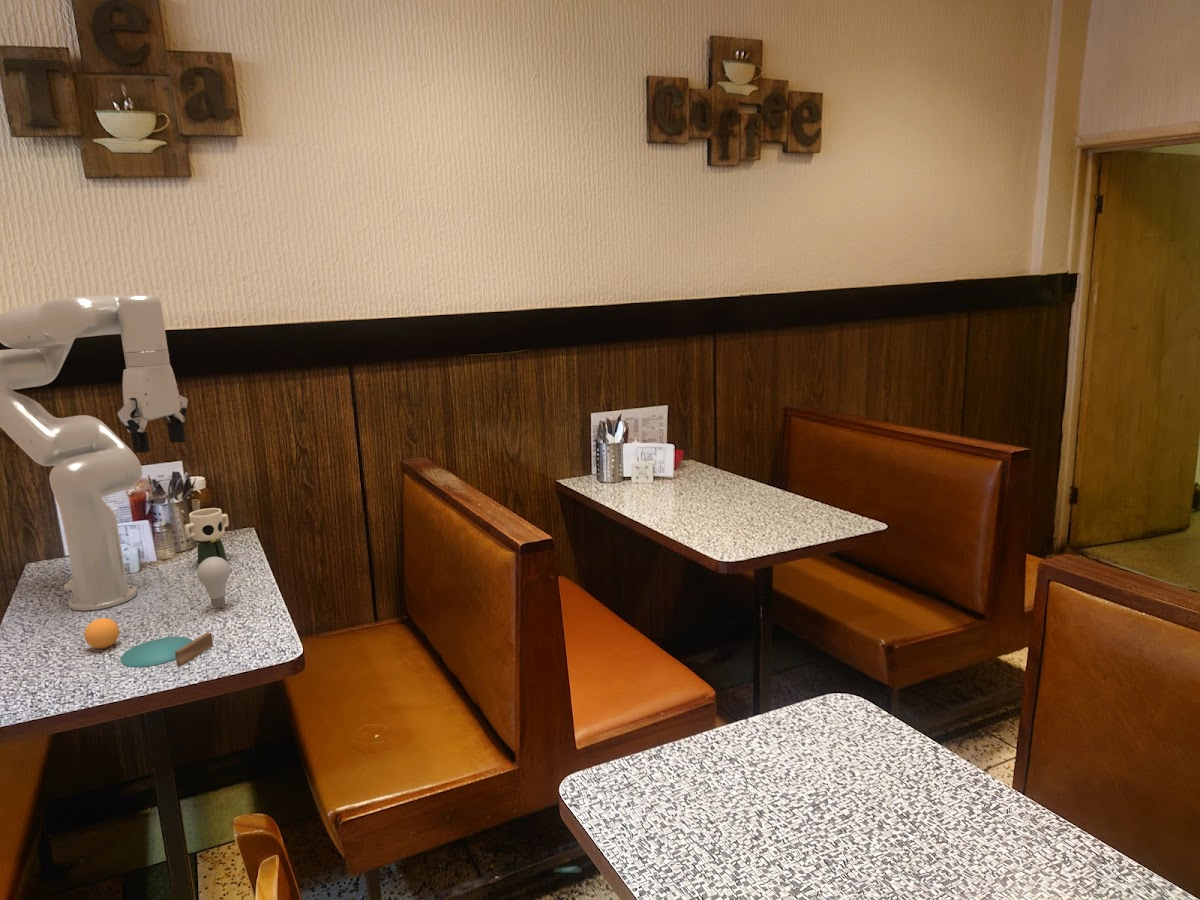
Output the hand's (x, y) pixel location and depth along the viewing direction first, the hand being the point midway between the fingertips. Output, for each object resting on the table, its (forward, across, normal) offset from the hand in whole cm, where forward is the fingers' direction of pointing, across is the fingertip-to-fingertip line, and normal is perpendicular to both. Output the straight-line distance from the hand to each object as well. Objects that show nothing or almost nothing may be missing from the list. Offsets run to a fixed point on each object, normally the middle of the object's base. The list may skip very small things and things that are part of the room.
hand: (160, 447), depth 163 cm
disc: (+34, +18, +9) cm, 40 cm away
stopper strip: (+34, +18, +17) cm, 42 cm away
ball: (+32, +18, -3) cm, 36 cm away
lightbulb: (+34, -2, +6) cm, 35 cm away
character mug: (+35, -27, -14) cm, 46 cm away
